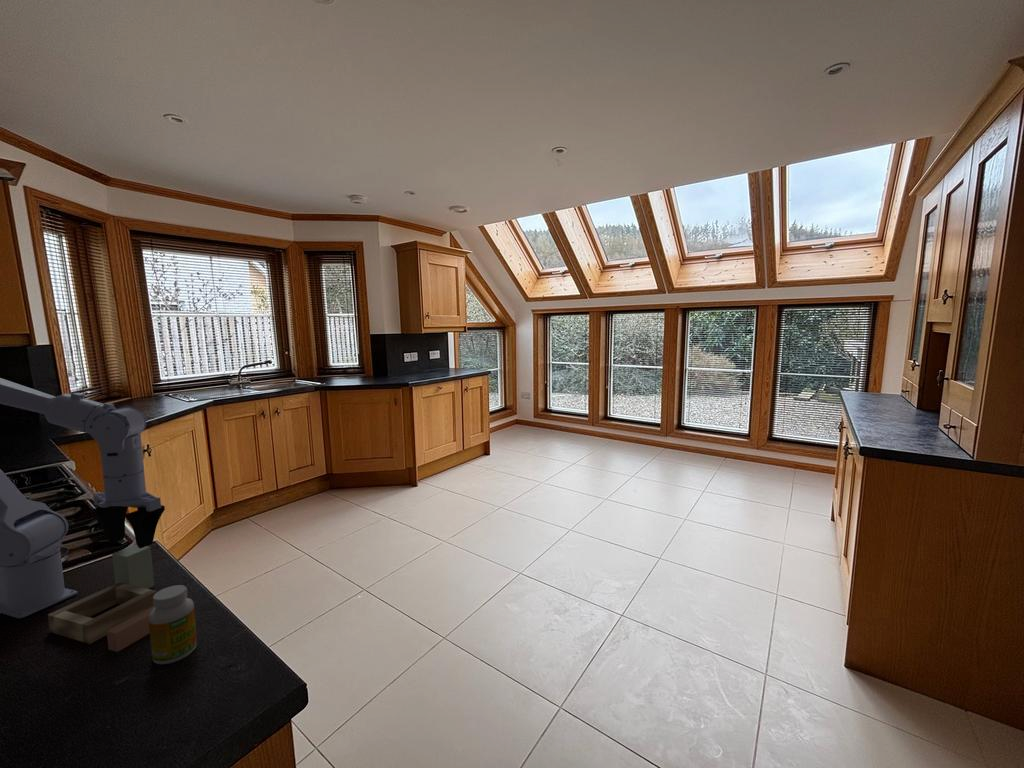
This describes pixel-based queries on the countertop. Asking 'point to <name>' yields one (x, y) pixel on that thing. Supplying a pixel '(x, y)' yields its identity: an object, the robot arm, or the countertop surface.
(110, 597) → the collar block
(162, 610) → the supplement bottle
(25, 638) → the countertop surface
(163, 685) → the countertop surface
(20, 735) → the countertop surface
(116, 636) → the stop wall
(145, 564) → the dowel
